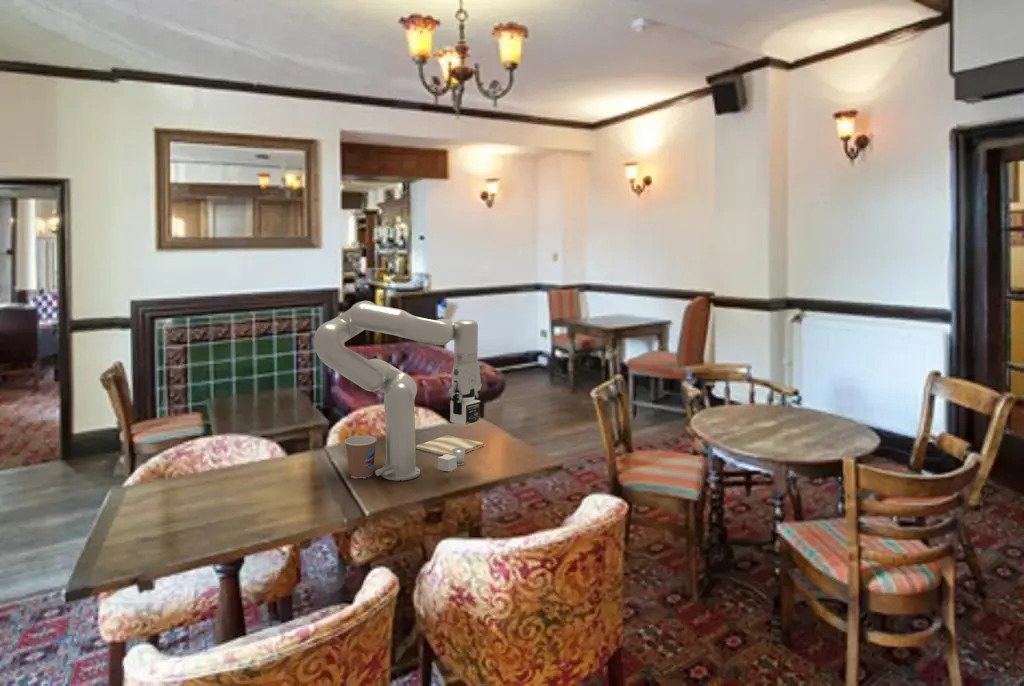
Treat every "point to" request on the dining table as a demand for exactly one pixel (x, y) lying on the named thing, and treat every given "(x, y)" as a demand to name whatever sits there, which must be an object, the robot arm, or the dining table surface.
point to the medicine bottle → (467, 410)
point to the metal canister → (459, 455)
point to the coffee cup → (361, 455)
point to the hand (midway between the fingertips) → (465, 411)
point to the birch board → (448, 444)
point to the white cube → (447, 462)
